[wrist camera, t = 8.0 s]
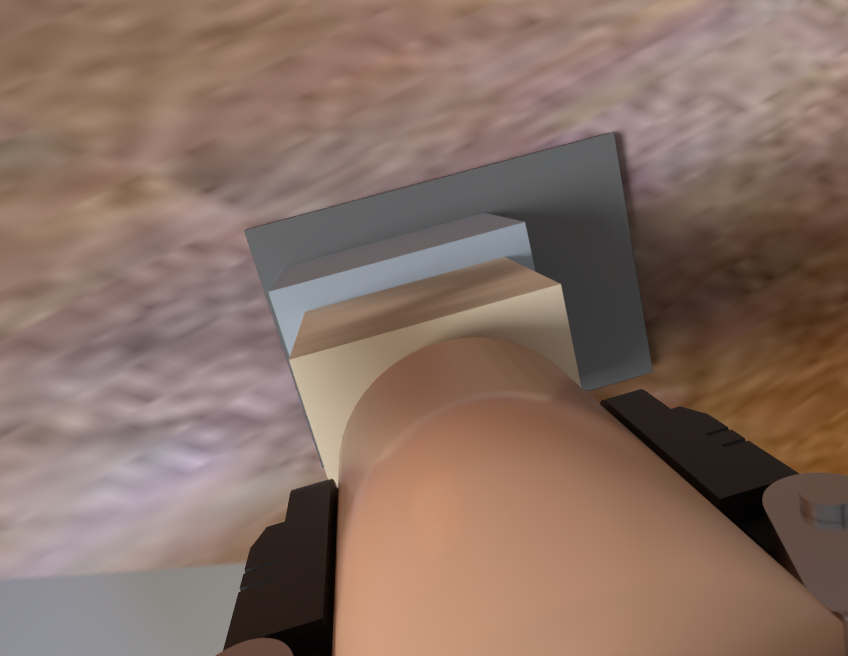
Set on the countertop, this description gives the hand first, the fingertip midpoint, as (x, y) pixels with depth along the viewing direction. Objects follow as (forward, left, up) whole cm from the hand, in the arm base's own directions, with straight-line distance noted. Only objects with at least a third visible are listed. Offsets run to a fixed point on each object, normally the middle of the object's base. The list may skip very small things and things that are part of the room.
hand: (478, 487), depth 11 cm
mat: (-2, 0, -12) cm, 12 cm away
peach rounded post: (0, 0, -1) cm, 1 cm away
